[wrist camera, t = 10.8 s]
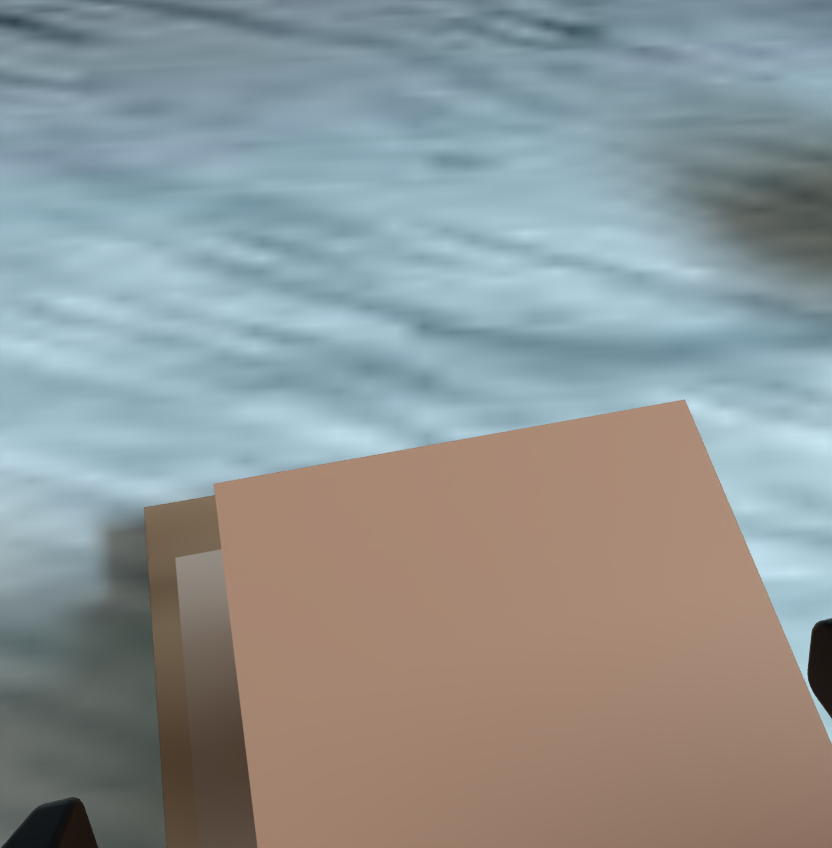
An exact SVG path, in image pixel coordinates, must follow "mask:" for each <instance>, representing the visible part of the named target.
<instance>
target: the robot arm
mask: <svg viewBox="0 0 832 848" xmlns="http://www.w3.org/2000/svg"><path fill="white" fill-rule="evenodd" d="M807 675H808V681H809V684H810V687H811V689H812V691H813V693H814V694H815V696H816V697H817V699H818V700H819V701H820V703H821V704H822V706H823V707H824V708H825V710H826V711H827V713H828V714H829V715H830V717H831V718H832V618H830V619H826V620H822V621H819V622H817V623H816V624H815V626H814V627H813V629H812V634H811V643H810V652H809V662H808V673H807ZM1 848H98V846H97V843H96V840H95V837H94V834H93V831H92V828H91V825H90V822H89V819H88V816H87V813H86V810H85V807H84V805H83V803H82V802H81V801H80V799H78V798H75V797H71V798H67V799H63V800H58V801H54V802H50V803H46V804H43V805H40V806H38V807H37V808H36V809H35V810H34V811H33V812H32V813H31V814H30V815H29V816H28V817H27V818H26V820H25V821H24V822H23V823H22V824H21V825H20V826H19V828H18V829H17V830H16V831H15V832H14V833H13V835H12V836H11V837H10V838H9V839H8V840H7V842H6V843H5V844H4V845H3V846H2V847H1Z"/></svg>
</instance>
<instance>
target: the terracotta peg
mask: <svg viewBox="0 0 832 848" xmlns="http://www.w3.org/2000/svg"><path fill="white" fill-rule="evenodd" d="M214 491H215V499H216V507H217V516H218V524H219V532H220V540H221V549H222V557H223V565H224V574H225V582H226V590H227V598H228V607H229V615H230V623H231V632H232V640H233V648H234V656H235V665H236V673H237V681H238V690H239V698H240V706H241V714H242V723H243V731H244V739H245V748H246V756H247V764H248V772H249V781H250V789H251V797H252V806H253V814H254V822H255V831H256V839H257V847H258V848H832V744H831V742H830V739H829V737H828V735H827V732H826V730H825V727H824V725H823V723H822V720H821V718H820V716H819V713H818V711H817V709H816V706H815V704H814V702H813V699H812V697H811V695H810V692H809V690H808V688H807V685H806V683H805V681H804V678H803V676H802V673H801V671H800V669H799V666H798V664H797V662H796V659H795V657H794V655H793V652H792V650H791V648H790V645H789V643H788V641H787V638H786V636H785V634H784V631H783V629H782V627H781V624H780V622H779V620H778V617H777V615H776V612H775V610H774V608H773V605H772V603H771V601H770V598H769V596H768V594H767V591H766V589H765V587H764V584H763V582H762V580H761V577H760V575H759V573H758V570H757V568H756V566H755V563H754V561H753V558H752V556H751V554H750V551H749V549H748V547H747V544H746V542H745V540H744V537H743V535H742V533H741V530H740V528H739V526H738V523H737V521H736V519H735V516H734V514H733V512H732V509H731V507H730V504H729V502H728V500H727V497H726V495H725V493H724V490H723V488H722V486H721V483H720V481H719V479H718V476H717V474H716V472H715V469H714V467H713V465H712V462H711V460H710V458H709V455H708V453H707V450H706V448H705V446H704V443H703V441H702V439H701V436H700V434H699V432H698V429H697V427H696V425H695V422H694V420H693V418H692V415H691V413H690V411H689V408H688V406H687V404H686V401H685V400H680V401H675V402H669V403H663V404H658V405H652V406H647V407H641V408H636V409H630V410H624V411H619V412H613V413H608V414H602V415H596V416H591V417H585V418H580V419H574V420H568V421H563V422H557V423H552V424H546V425H540V426H535V427H529V428H524V429H518V430H512V431H507V432H501V433H496V434H490V435H484V436H479V437H473V438H468V439H462V440H456V441H451V442H445V443H440V444H434V445H428V446H423V447H417V448H412V449H406V450H400V451H395V452H389V453H384V454H378V455H373V456H367V457H361V458H356V459H350V460H345V461H339V462H333V463H328V464H322V465H317V466H311V467H305V468H300V469H294V470H289V471H283V472H277V473H272V474H266V475H261V476H255V477H249V478H244V479H238V480H233V481H227V482H221V483H216V484H214Z"/></svg>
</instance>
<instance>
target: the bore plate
mask: <svg viewBox="0 0 832 848" xmlns="http://www.w3.org/2000/svg"><path fill="white" fill-rule="evenodd" d="M144 513H145V528H146V543H147V558H148V573H149V588H150V603H151V618H152V633H153V648H154V663H155V678H156V693H157V708H158V723H159V738H160V753H161V768H162V783H163V798H164V813H165V828H166V843H167V848H258V847H257V839H256V831H255V822H254V814H253V806H252V797H251V789H250V781H249V772H248V764H247V756H246V748H245V739H244V731H243V723H242V714H241V706H240V698H239V690H238V681H237V673H236V665H235V656H234V648H233V640H232V632H231V623H230V615H229V607H228V598H227V590H226V582H225V574H224V565H223V557H222V549H221V540H220V532H219V524H218V516H217V507H216V499H215V495H214V496H208V497H203V498H197V499H191V500H185V501H179V502H174V503H168V504H162V505H156V506H151V507H145V508H144Z"/></svg>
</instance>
